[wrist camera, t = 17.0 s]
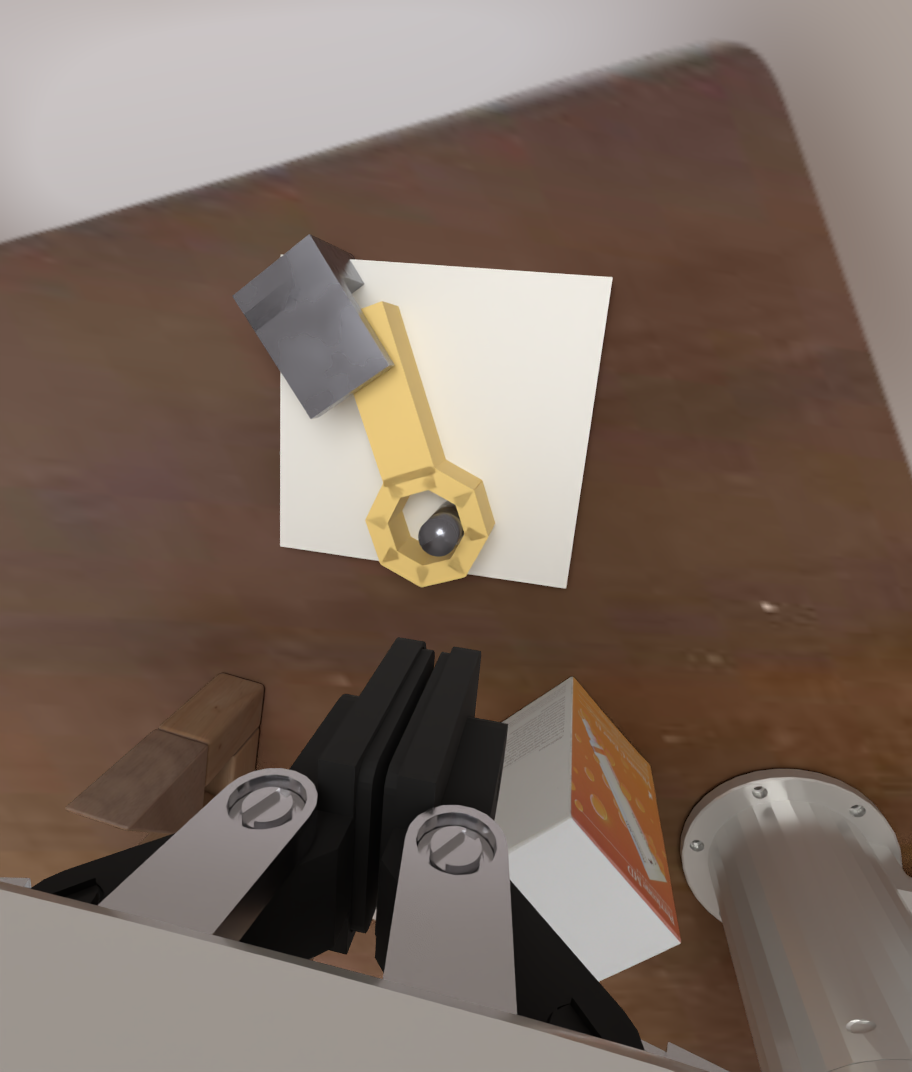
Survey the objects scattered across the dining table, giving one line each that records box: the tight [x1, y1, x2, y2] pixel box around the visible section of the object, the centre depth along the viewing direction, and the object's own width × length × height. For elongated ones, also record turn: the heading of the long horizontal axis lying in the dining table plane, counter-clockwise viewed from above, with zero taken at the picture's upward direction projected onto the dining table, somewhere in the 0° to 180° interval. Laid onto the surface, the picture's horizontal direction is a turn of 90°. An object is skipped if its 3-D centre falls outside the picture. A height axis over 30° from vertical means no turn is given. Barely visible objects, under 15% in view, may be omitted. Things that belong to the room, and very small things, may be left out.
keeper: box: [233, 234, 395, 419], centre depth 33 cm, size 7×5×6 cm
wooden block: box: [66, 673, 264, 845], centre depth 37 cm, size 4×11×18 cm, turn 169°
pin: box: [418, 501, 464, 557], centre depth 34 cm, size 2×2×6 cm
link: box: [353, 301, 495, 587], centre depth 34 cm, size 15×6×3 cm, turn 18°
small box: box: [494, 677, 681, 982], centre depth 34 cm, size 8×6×13 cm
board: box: [280, 255, 613, 589], centre depth 35 cm, size 18×17×1 cm
